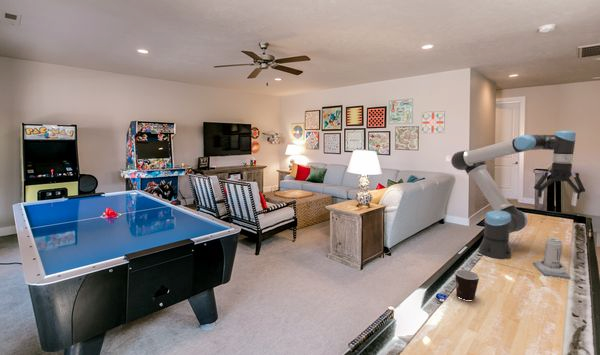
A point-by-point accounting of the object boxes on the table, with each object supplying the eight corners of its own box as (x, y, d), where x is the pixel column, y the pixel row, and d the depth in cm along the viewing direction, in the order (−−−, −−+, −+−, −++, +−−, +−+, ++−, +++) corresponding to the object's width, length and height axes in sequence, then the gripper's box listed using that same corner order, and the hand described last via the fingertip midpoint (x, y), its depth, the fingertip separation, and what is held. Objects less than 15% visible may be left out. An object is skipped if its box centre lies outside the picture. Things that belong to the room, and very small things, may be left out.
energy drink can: (554, 272, 145) (558, 242, 143) (540, 267, 151) (543, 238, 148) (561, 270, 148) (565, 240, 145) (547, 265, 153) (550, 236, 151)
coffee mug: (455, 289, 132) (456, 267, 131) (478, 295, 127) (480, 273, 126) (450, 302, 123) (452, 278, 121) (475, 309, 118) (477, 284, 116)
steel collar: (542, 272, 146) (543, 267, 145) (533, 263, 156) (534, 258, 155) (569, 275, 142) (570, 270, 142) (558, 266, 152) (559, 261, 152)
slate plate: (544, 275, 144) (544, 273, 144) (532, 263, 157) (533, 261, 157) (570, 279, 141) (570, 277, 141) (556, 266, 154) (556, 264, 154)
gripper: (534, 162, 152) (530, 204, 155) (598, 164, 144) (592, 208, 147) (529, 161, 159) (524, 201, 162) (589, 162, 151) (583, 204, 154)
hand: (556, 204), depth 154 cm, fingers open, 13 cm apart
